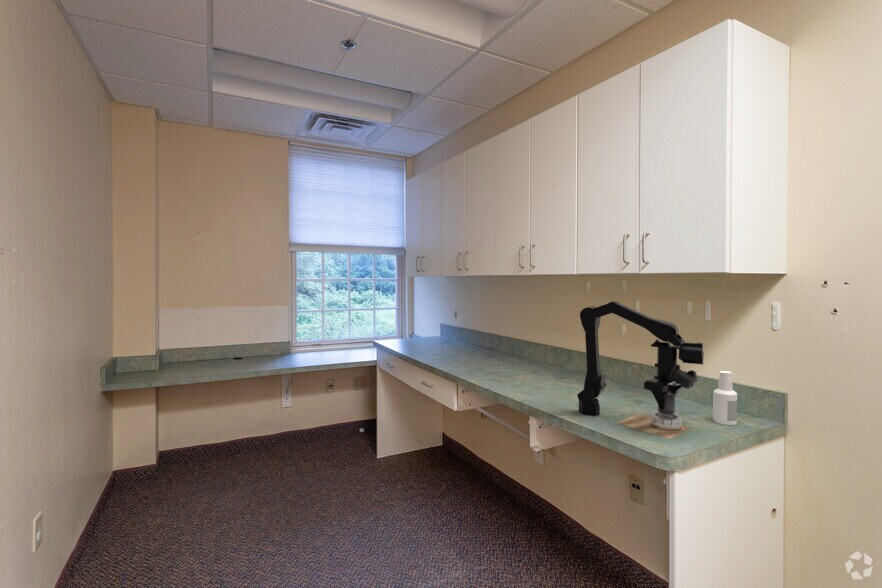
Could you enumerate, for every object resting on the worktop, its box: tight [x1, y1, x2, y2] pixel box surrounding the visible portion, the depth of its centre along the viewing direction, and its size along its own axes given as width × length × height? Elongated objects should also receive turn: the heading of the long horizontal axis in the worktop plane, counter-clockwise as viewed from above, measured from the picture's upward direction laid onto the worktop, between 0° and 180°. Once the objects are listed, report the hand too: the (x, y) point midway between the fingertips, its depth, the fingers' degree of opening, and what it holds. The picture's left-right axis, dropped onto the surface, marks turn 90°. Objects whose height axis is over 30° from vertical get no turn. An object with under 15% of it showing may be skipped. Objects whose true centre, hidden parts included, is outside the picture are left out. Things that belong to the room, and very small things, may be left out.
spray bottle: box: [712, 370, 738, 426], centre depth 148 cm, size 7×7×18 cm
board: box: [616, 413, 692, 440], centre depth 145 cm, size 18×15×1 cm
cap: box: [657, 392, 676, 414], centre depth 144 cm, size 5×5×6 cm
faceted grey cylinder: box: [650, 410, 683, 431], centre depth 144 cm, size 9×9×4 cm
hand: (666, 407), depth 144 cm, fingers closed on cap, 5 cm apart
